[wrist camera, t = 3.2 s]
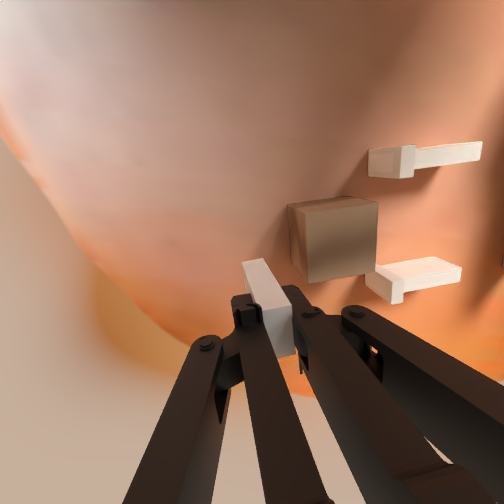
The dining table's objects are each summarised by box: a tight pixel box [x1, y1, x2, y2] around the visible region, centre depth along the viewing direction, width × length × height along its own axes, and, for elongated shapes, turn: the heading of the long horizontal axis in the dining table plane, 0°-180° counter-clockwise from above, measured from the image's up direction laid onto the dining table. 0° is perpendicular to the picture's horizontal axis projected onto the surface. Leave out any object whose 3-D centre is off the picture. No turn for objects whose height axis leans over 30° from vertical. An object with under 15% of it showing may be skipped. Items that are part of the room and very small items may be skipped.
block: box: [287, 196, 378, 284], centre depth 23 cm, size 6×6×5 cm
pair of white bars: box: [365, 141, 483, 305], centre depth 24 cm, size 14×8×4 cm, turn 7°
